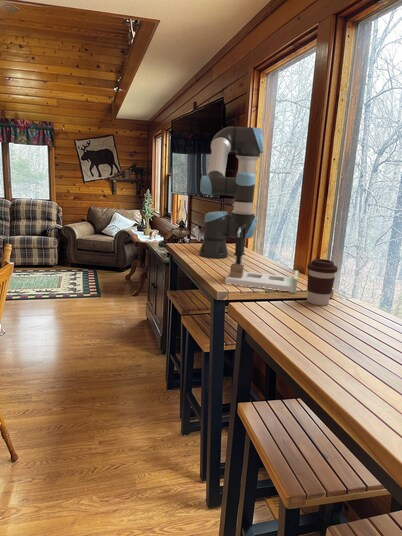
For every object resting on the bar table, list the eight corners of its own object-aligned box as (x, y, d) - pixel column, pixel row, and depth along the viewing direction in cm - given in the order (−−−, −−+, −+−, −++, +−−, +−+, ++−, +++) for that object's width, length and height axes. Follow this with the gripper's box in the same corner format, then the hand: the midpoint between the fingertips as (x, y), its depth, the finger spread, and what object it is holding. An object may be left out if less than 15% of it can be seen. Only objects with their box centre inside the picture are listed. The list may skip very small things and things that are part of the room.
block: (232, 274, 158) (232, 263, 156) (242, 275, 156) (243, 264, 155) (229, 277, 153) (230, 266, 152) (241, 278, 152) (242, 267, 151)
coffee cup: (300, 303, 133) (305, 261, 130) (306, 296, 142) (311, 256, 138) (329, 309, 129) (335, 265, 125) (334, 301, 137) (340, 260, 134)
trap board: (231, 275, 165) (232, 263, 164) (296, 283, 159) (298, 270, 158) (224, 284, 151) (225, 270, 150) (295, 293, 145) (297, 279, 143)
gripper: (236, 211, 159) (232, 266, 164) (230, 213, 147) (225, 273, 152) (254, 212, 157) (249, 268, 163) (249, 215, 145) (244, 275, 150)
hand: (238, 270), depth 157 cm, fingers closed
